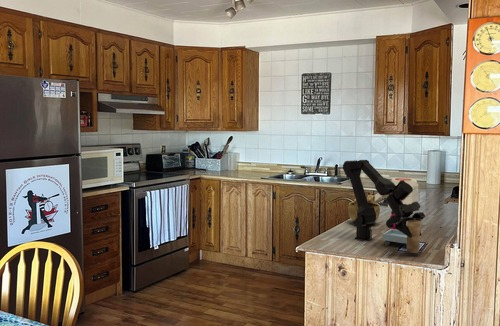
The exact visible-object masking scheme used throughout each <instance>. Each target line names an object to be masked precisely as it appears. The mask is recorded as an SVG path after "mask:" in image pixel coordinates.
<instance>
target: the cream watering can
mask: <svg viewBox="0 0 500 326" xmlns="http://www.w3.org/2000/svg"><path fill="white" fill-rule="evenodd" d="M403 180H404V181H405V182H406V183H408V184H409V185H410V186H412V188H413V191H412V192H411V193H410V194H409V196H408V197H407V198H406V199H405V200H402V201H403V204H407V205H408V204H412V203H413V202H418V203H419V186H420V184H419V183H418V180H416V178H414V177H413V178H411V177H390V181H391V182H393V183H394V184H395V185H396V186H397V184H398V183H399V182H400V181H403ZM374 196H375V201H374V203H376V202H379V201H380V200H381V199H384V198H385V197H388V196H389V195H380V194H379V193H378V192H377V193H376V194H374ZM387 208H390V206H389V205H388V204H387ZM390 209H391V208H390Z"/></svg>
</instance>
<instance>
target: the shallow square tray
mask: <svg viewBox="0 0 500 326" xmlns="http://www.w3.org/2000/svg"><path fill="white" fill-rule="evenodd" d="M381 240H382V241H384V242H383V244H384V246H387V247H388V246H389V245H390V244H391V242H393V243H394V242H395V243H400V244H405V245H406V246H405V247H406V248H407V235H405V234H404V233H402V232H400V231H399V230H395V229H390V230H389V229H388V230H387V231H385V232H384V233H382V235H381ZM420 240H421V238H420V239H419V241H420Z"/></svg>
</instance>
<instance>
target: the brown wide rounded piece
mask: <svg viewBox="0 0 500 326" xmlns="http://www.w3.org/2000/svg"><path fill="white" fill-rule="evenodd" d="M374 195H375V194H374ZM374 195H373V194H368V195H367V196H366V198H367V201H368V204H369V206H370V207H374V209H375V213H376V214H377V215H376V221H378V219H379V217H380V212H381V207H380V206H381V205H380V204H379V203H376V202H374V201H375V196H374ZM347 209H348V216H349V218H350V219H351V220H352V221H353V222H354V220H355V219H356V218H357V210H358V205H357V201H356V198H354V200H353V201H350V202H349V203H348V207H347Z"/></svg>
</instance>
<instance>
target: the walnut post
mask: <svg viewBox="0 0 500 326" xmlns="http://www.w3.org/2000/svg"><path fill="white" fill-rule="evenodd" d="M407 227H408V229H409V231H410V232H411V234H412V238H410V237H408V236H407V244H406V245H407V247H406V252H408V253H410V254H411V253H413V254H414V253H415V254H416V253H417V254H418V253H419V252H420V240H421V236H420V231H421V221H418V220H408V221H407ZM419 239H420V240H419Z"/></svg>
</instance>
